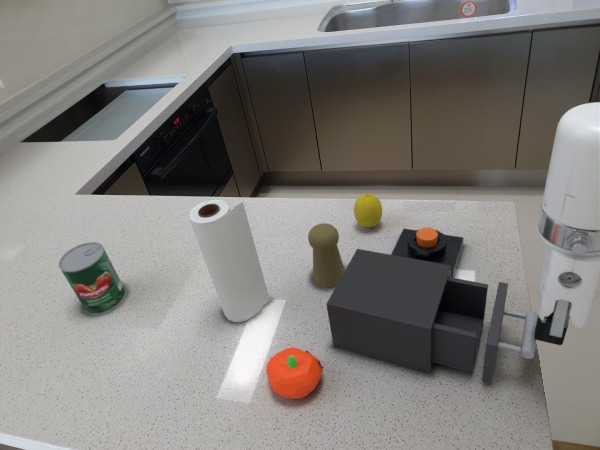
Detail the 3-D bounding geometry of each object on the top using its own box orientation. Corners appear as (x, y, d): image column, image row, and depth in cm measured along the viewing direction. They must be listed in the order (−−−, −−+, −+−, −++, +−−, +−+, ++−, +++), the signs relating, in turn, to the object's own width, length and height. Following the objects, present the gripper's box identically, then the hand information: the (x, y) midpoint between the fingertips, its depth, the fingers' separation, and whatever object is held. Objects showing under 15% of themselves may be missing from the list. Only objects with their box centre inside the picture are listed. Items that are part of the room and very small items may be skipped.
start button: (439, 237, 82) (439, 229, 81) (434, 249, 79) (435, 241, 78) (419, 233, 83) (419, 226, 82) (414, 246, 81) (414, 238, 80)
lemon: (353, 221, 96) (349, 189, 91) (379, 216, 95) (377, 184, 91) (358, 237, 91) (355, 204, 86) (386, 232, 91) (384, 198, 86)
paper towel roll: (218, 319, 79) (180, 219, 66) (234, 295, 83) (201, 196, 71) (255, 327, 76) (223, 224, 64) (270, 301, 80) (242, 200, 68)
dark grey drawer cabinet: (449, 310, 73) (451, 265, 67) (430, 375, 64) (430, 329, 58) (361, 291, 79) (357, 248, 73) (333, 347, 70) (326, 303, 65)
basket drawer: (534, 328, 67) (542, 289, 62) (526, 394, 59) (535, 355, 54) (412, 301, 74) (411, 265, 70) (391, 356, 66) (389, 320, 62)
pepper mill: (324, 262, 87) (317, 215, 80) (352, 271, 83) (347, 223, 77) (306, 282, 83) (297, 234, 76) (335, 293, 80) (327, 244, 73)
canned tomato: (96, 321, 83) (69, 277, 77) (77, 303, 88) (50, 260, 82) (134, 295, 87) (111, 251, 81) (114, 279, 92) (91, 236, 86)
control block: (462, 246, 84) (464, 229, 82) (453, 279, 78) (454, 261, 76) (403, 237, 89) (403, 220, 87) (389, 267, 83) (389, 250, 80)
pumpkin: (281, 357, 70) (273, 329, 67) (330, 369, 67) (325, 341, 64) (260, 397, 65) (251, 370, 62) (312, 413, 62) (305, 384, 58)
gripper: (625, 277, 41) (581, 395, 52) (617, 189, 52) (582, 303, 63) (533, 261, 45) (509, 376, 55) (543, 182, 55) (521, 291, 66)
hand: (548, 337), depth 59 cm, fingers closed
